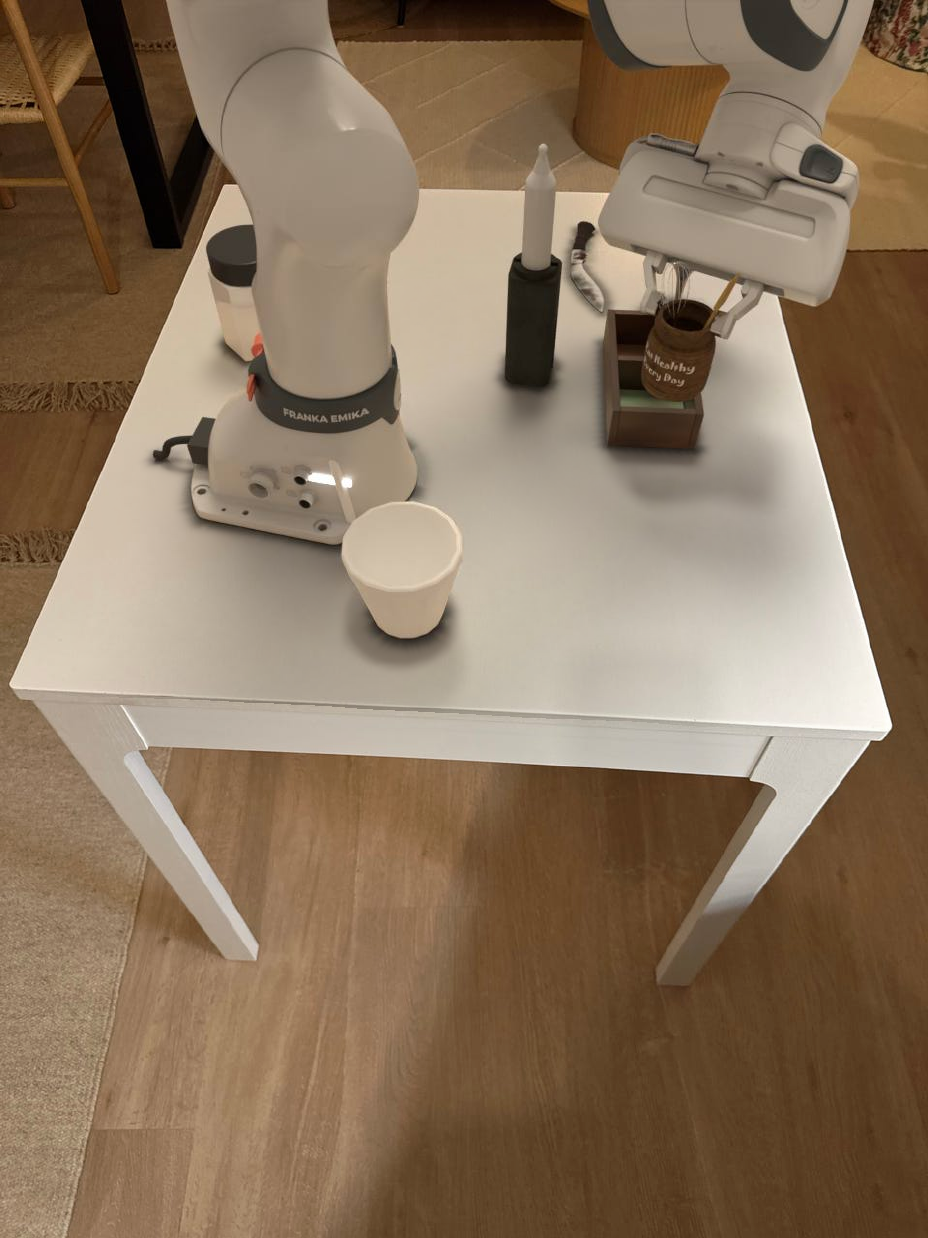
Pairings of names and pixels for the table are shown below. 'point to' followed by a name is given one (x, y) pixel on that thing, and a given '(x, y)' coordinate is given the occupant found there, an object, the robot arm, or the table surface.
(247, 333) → the jar
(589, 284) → the knife
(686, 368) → the utensil holder
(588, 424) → the table surface
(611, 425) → the wooden divided box
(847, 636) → the table surface
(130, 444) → the table surface
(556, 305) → the candle
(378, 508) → the cup
